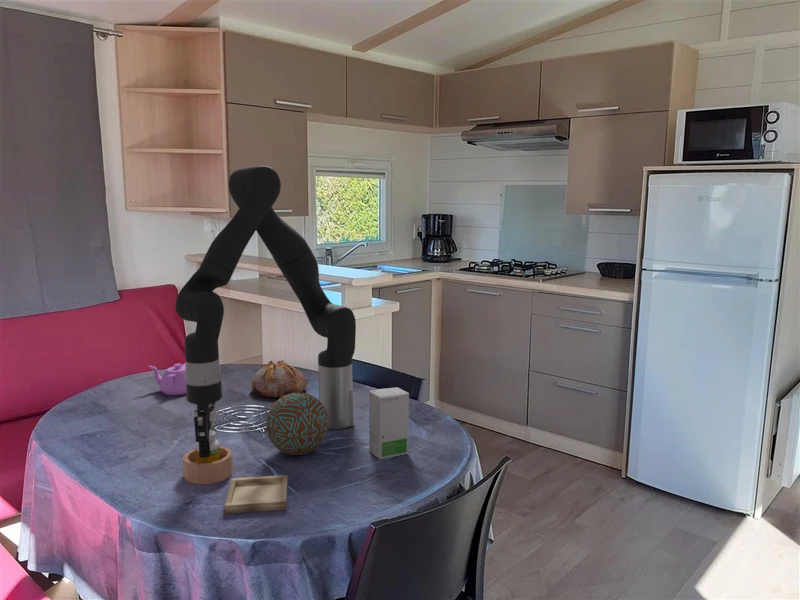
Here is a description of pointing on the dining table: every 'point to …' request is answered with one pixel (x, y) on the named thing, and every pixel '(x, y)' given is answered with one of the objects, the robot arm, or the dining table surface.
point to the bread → (278, 380)
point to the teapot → (172, 380)
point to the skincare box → (388, 422)
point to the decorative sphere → (297, 423)
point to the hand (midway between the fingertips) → (207, 450)
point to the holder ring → (208, 468)
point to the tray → (257, 494)
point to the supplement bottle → (213, 450)
